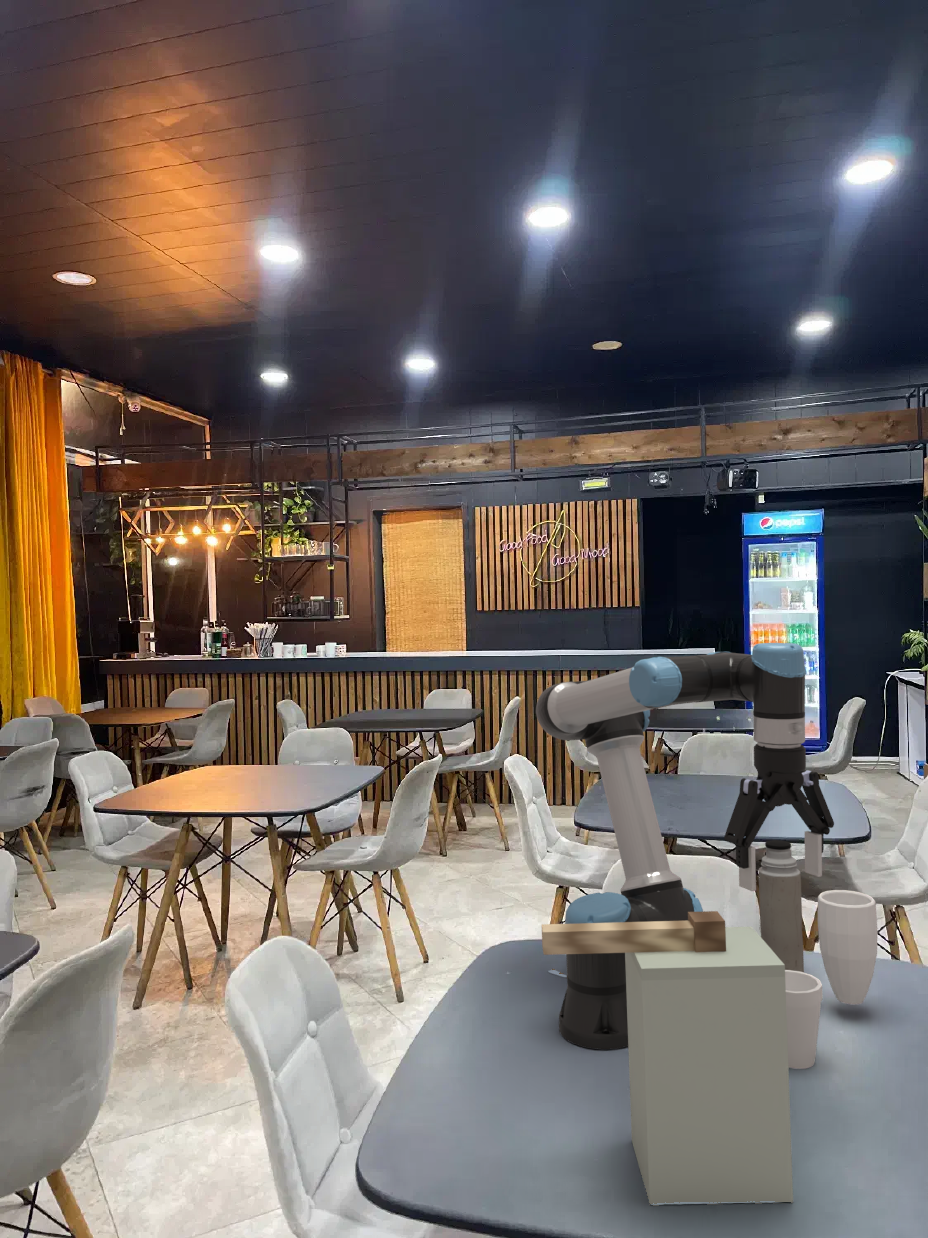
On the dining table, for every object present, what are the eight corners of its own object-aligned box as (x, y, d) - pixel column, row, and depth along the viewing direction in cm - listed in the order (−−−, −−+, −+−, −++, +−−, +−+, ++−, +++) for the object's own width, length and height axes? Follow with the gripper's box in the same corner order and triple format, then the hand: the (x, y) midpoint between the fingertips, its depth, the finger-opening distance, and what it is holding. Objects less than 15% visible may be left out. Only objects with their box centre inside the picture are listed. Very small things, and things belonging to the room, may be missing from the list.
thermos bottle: (796, 973, 183) (791, 836, 183) (810, 989, 175) (805, 846, 175) (757, 974, 183) (752, 838, 183) (769, 990, 175) (764, 848, 175)
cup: (852, 1033, 156) (847, 910, 156) (807, 1010, 166) (803, 894, 166) (895, 1020, 161) (890, 901, 161) (849, 999, 170) (845, 886, 170)
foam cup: (829, 1076, 143) (826, 994, 143) (768, 1072, 144) (766, 991, 144) (818, 1047, 152) (815, 971, 152) (761, 1044, 154) (758, 968, 154)
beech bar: (718, 940, 122) (717, 911, 122) (726, 951, 118) (725, 921, 118) (542, 945, 122) (541, 916, 122) (544, 956, 118) (542, 926, 118)
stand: (649, 1205, 113) (641, 968, 113) (631, 1141, 127) (624, 930, 127) (793, 1203, 112) (784, 965, 112) (759, 1138, 126) (751, 926, 126)
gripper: (734, 755, 128) (736, 902, 129) (857, 739, 139) (858, 875, 139) (698, 748, 135) (701, 887, 135) (819, 733, 145) (820, 862, 146)
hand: (781, 881), depth 137 cm, fingers open, 13 cm apart
